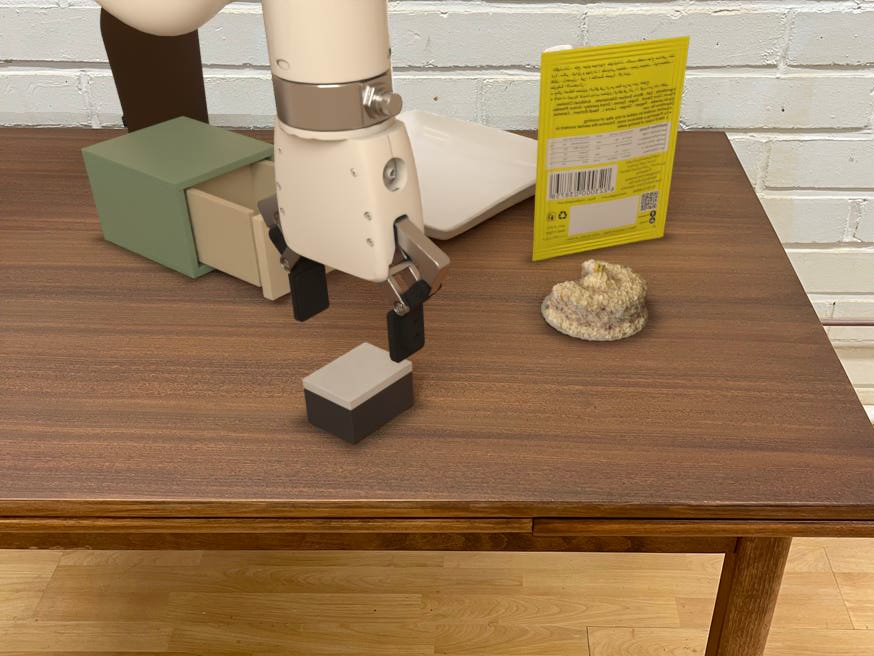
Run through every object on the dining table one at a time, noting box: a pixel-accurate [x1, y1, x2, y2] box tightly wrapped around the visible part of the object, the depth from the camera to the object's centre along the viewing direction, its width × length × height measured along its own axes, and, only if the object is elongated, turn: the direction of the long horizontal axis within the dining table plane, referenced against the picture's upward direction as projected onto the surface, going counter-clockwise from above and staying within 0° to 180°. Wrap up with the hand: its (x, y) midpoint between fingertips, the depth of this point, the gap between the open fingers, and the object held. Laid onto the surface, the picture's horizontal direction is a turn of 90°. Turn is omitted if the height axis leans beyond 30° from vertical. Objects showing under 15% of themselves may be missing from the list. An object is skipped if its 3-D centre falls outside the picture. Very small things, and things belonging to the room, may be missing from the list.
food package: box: [531, 35, 691, 262], centre depth 93 cm, size 15×1×20 cm, turn 113°
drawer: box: [183, 159, 336, 301], centre depth 91 cm, size 19×11×8 cm, turn 52°
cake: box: [540, 258, 650, 342], centre depth 87 cm, size 10×10×5 cm
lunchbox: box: [301, 341, 415, 446], centre depth 74 cm, size 7×5×4 cm
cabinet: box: [80, 116, 274, 280], centre depth 98 cm, size 15×13×10 cm
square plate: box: [395, 108, 538, 241], centre depth 110 cm, size 27×27×4 cm
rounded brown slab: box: [99, 6, 210, 134], centre depth 110 cm, size 11×11×25 cm
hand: (358, 333), depth 71 cm, fingers open, 9 cm apart
